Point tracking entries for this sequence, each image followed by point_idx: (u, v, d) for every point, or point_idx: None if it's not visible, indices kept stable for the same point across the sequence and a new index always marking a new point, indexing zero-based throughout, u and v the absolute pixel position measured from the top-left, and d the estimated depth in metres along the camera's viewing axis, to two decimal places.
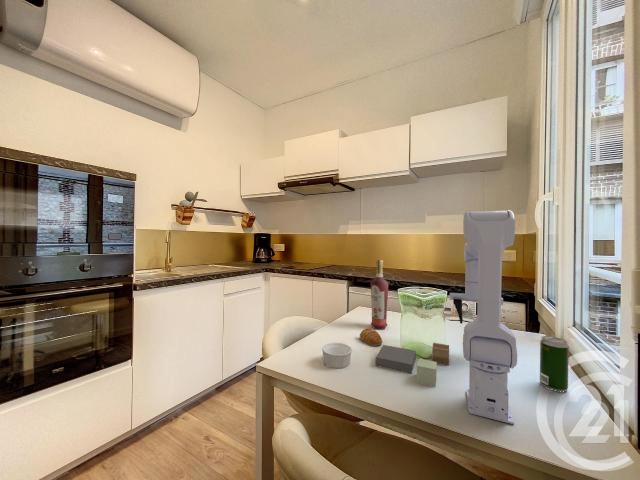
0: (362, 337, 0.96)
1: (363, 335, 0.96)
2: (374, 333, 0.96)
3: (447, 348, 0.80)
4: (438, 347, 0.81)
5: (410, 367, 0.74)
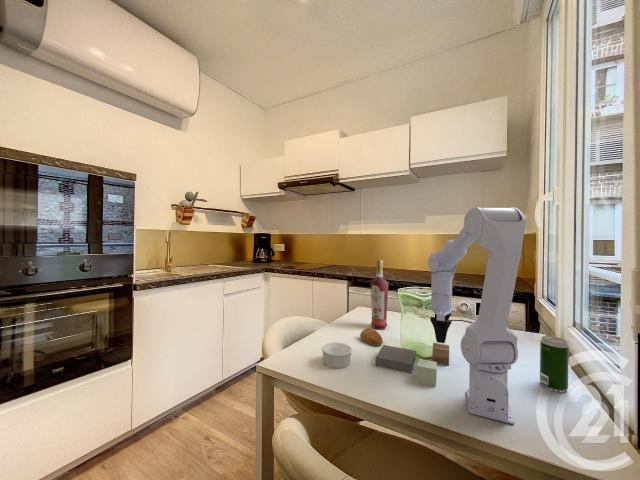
0: (362, 337, 0.96)
1: (363, 335, 0.97)
2: (374, 333, 0.96)
3: (447, 348, 0.80)
4: (438, 347, 0.81)
5: (410, 367, 0.74)
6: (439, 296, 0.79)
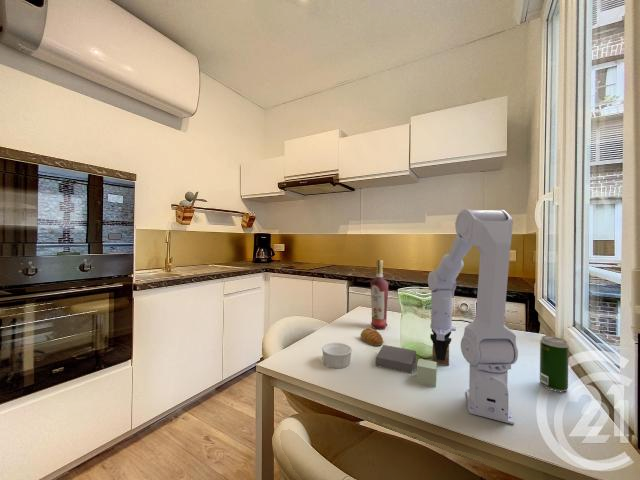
0: (363, 337, 0.97)
1: (364, 335, 0.97)
2: (375, 333, 0.96)
3: (447, 348, 0.80)
4: None
5: (410, 367, 0.74)
6: (439, 315, 0.79)
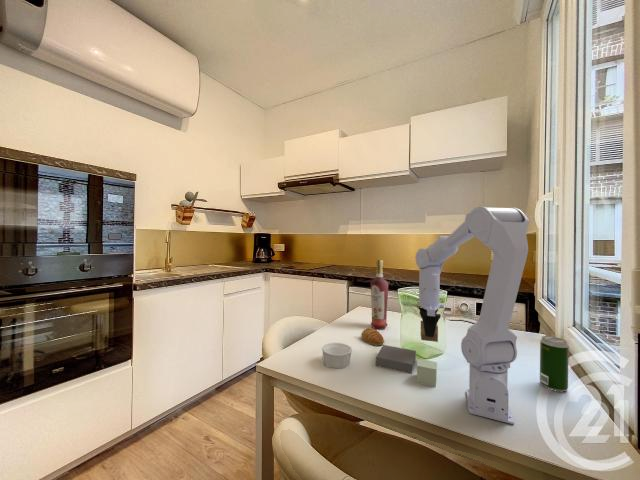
0: (364, 337, 0.97)
1: (365, 335, 0.97)
2: (376, 333, 0.96)
3: None
4: None
5: (410, 367, 0.74)
6: (428, 291, 0.79)
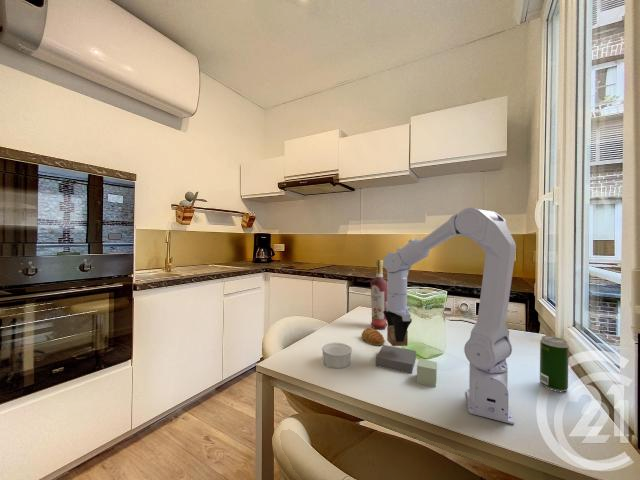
0: (364, 337, 0.97)
1: (365, 335, 0.97)
2: (376, 333, 0.96)
3: None
4: None
5: (410, 367, 0.74)
6: (399, 296, 0.77)
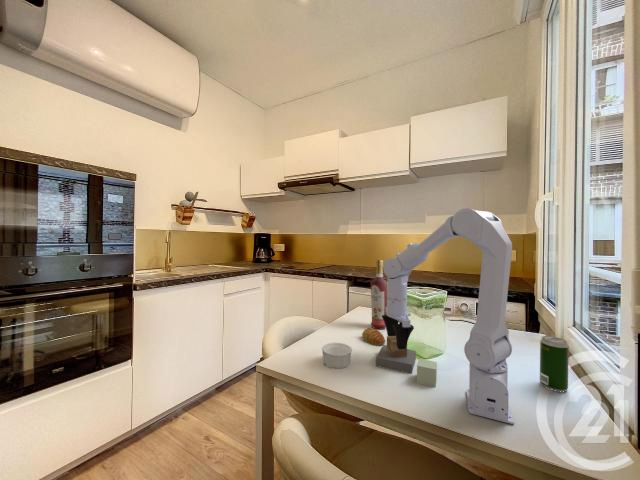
0: (365, 337, 0.97)
1: (366, 335, 0.97)
2: (377, 332, 0.97)
3: None
4: None
5: (410, 367, 0.74)
6: (399, 301, 0.77)
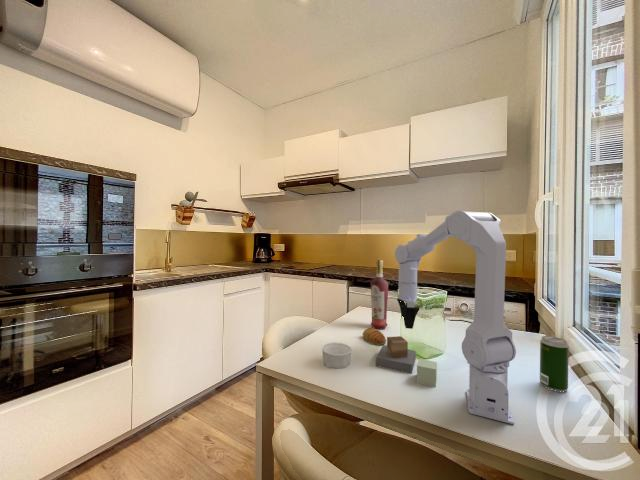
0: (365, 336, 0.97)
1: (366, 334, 0.97)
2: (377, 332, 0.97)
3: (403, 340, 0.80)
4: (396, 340, 0.79)
5: (410, 367, 0.74)
6: (407, 285, 0.84)
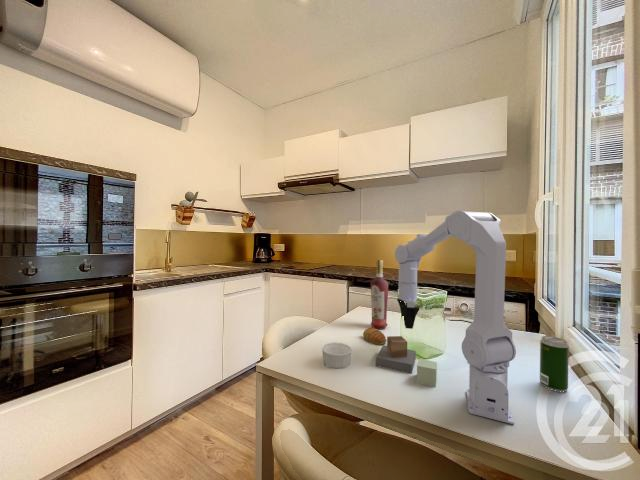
0: (366, 336, 0.97)
1: (367, 334, 0.97)
2: (378, 332, 0.97)
3: (403, 339, 0.80)
4: (396, 340, 0.79)
5: (410, 367, 0.74)
6: (407, 285, 0.84)
